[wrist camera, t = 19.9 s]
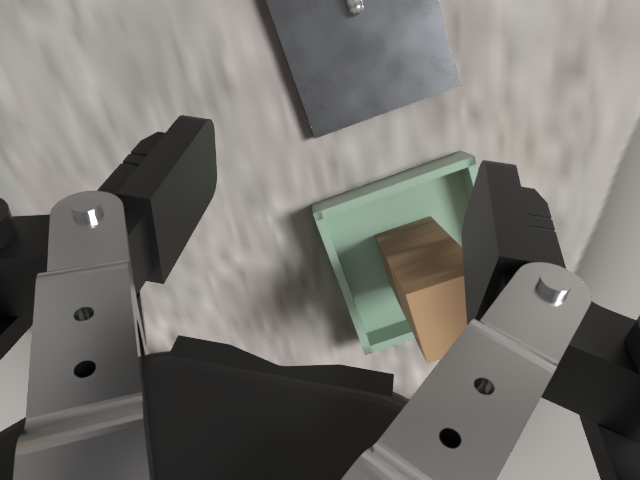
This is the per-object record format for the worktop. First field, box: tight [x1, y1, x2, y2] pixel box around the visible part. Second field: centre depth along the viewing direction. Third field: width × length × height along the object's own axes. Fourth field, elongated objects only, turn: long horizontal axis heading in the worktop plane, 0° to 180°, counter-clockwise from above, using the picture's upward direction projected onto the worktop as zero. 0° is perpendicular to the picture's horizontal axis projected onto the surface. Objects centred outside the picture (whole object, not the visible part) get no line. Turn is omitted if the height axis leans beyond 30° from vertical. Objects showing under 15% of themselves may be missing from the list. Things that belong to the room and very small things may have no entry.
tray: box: [311, 151, 478, 355], centre depth 41 cm, size 12×12×3 cm
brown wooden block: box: [374, 216, 467, 363], centre depth 36 cm, size 4×4×12 cm
